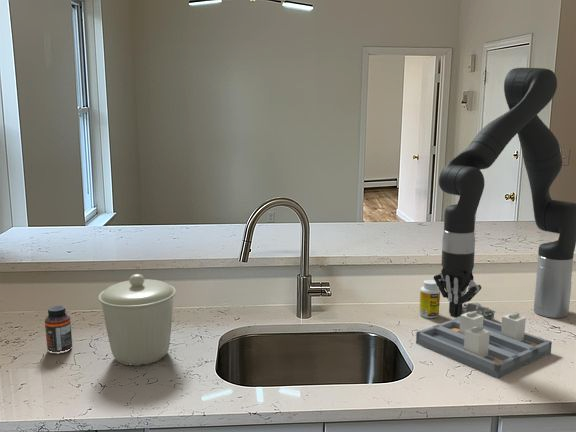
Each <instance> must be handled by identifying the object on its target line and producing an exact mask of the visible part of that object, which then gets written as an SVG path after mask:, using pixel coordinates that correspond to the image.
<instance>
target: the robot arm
mask: <svg viewBox="0 0 576 432" xmlns="http://www.w3.org/2000/svg"><path fill="white" fill-rule="evenodd" d="M557 88H558V80H557V75H556V74H555V72H554V71H553V70H551V69H549V68H544V67H541V68H540V67H515V68H513V69H511V70H509V71H508V72H507V74H506V75H505V78H504V82H503V92H504V97H505V101H506V104H507V107H508V109H509V110H508V111H507V112H505V113H504V114H501V115H500V116H498V117H497V118H495V119H493V120H492V121H490V122H488V123H487V124H485V126H484V127H483V128H482V129H480V131H479V132H478V133H477V135H476V136H475V137H474V138H473V140H472V141H471V142H470V143H469V145H468V146H467V148H465V149H464V150H462V151H461V152H459V153H458V154H457V155H456V156H454V157H453V158H452V159H451V160H450V161H448V162H447V164H445V165H444V167H443V168H442V169H441V172H440V173H439V176H438V177H439V178H438V186H439V188H440V189H441V191H442V192H444V193H446V194H449V195H454V196H459V198H458V201H457V203H456V204H450V205H448V206H446V208H445V210H444V215H443V216H444V217H443V218H444V220H443V223H444V224H443V234H442V242H441V243H442V244H441V267H442V269H441V271H440V273H438V274H436V275H434V276H433V280H434V281H435V282H436V284H437V286H438V288H439V290H440V295H442V298H445V299H447V301H448V303H449V307H448V312H449V315H450V317H452V318H453V319H456V318H459V317H460V315H462V306H463V305H464V304H467V303H469V302H471V300H472V299H473V298H474V297H475V296H476V295H477V294H478V293H479V292H480V291H481V290H482V286H481V284H477V283H476V282H475V281H474V278H475V277H474V275H473V270H474V267H475V253H476V252H475V249H476V248H475V246H476V234H475V229H476V228H475V225H476V214H477V211H478V207H479V205H480V201H481V200H482V199H481V198H482V195H483V193H484V189H485V177H484V174H483V172H482V171H481V170H486V169H488V168H491V167H492V165H494V163H495V162H496V160H497V159H498V157H499V156H500V155H501V153H502V152H503V151H504V149H505V148H506V147H507V146H508V144H509V143H510V142H511V140H512V139H513V138H515V137H516V135H517V137H518V139H519V140H518V141H519V143H520V144H519V145H520V149H521V155H522V159H523V162H524V167H525V170H526V174H527V178H528V182H529V187H530V193H531V201H532V208H533V209H532V211H533V216H534V221H535V224H536V227H537V228H538V229H539V230H541V231H543V232H547V233H554V234H559V236H558V239H557V240H555V241H549V242H543V243H541V244H539V245H538V246H539V247H538V252H537V253H538V254H537V266H536V276H535V277H536V280H535V292H534V300H533V301H534V302H533V312H534V313H535V314H537V315H539V316H541V317H545V318H553V319H563V318H566V317H568V316H569V312H570V303H571V302H570V301H571V295H572V294H571V293H572V277H573V265H574V253H575V249H576V203H575V202H573V201H564V200H558V199H557V200H556V199H552V197H551V196H550V188H551V186H552V184H553V183H554V181H555V180H556V179H557V177H558V175H559V174H560V172H561V169H562V166H563V157H562V152H561V147H560V144H559V140H558V138H557V137H556V135H555V134H554V133H553V131H551V129H550V128H549V127H548V126H547V125H546V124H545V122H543V121H542V119H541V118H540V117H539V115H538V114H539V113H540V112H541V111H543V110H544V109H545V107H547V106H548V105H549V103H550V102H551V101H552V99H553V98H554V97H555V94H556V91H557Z"/></svg>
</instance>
